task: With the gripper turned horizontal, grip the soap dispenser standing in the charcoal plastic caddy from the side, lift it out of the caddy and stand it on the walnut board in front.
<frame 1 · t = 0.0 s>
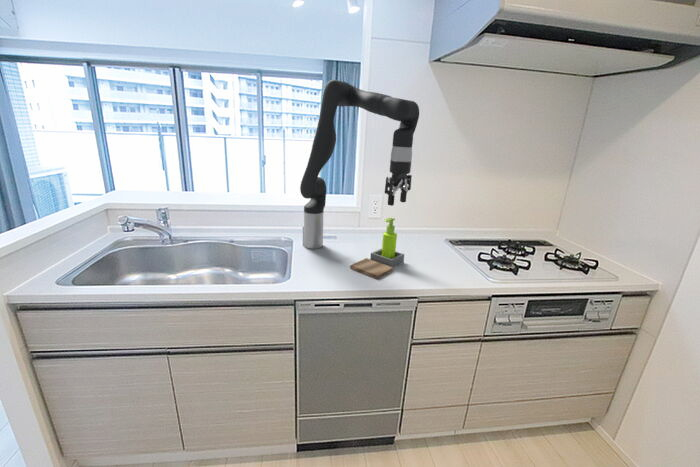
hand: (396, 203, 120), 29 cm above the worktop, tool pointing down, fingers open, 8 cm apart
soap dispenser: (386, 262, 141), resting in caddy
board: (371, 269, 132), on the worktop
caddy: (386, 262, 140), on the worktop
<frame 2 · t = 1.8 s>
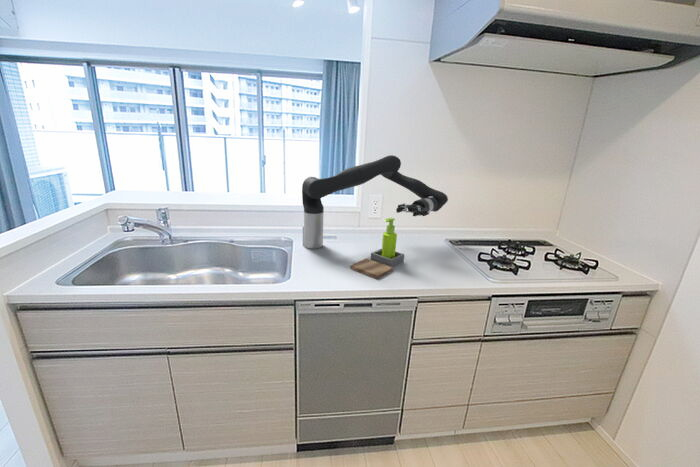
hand: (405, 212, 142), 21 cm above the worktop, tool horizontal, fingers open, 8 cm apart
nothing on the worktop moved.
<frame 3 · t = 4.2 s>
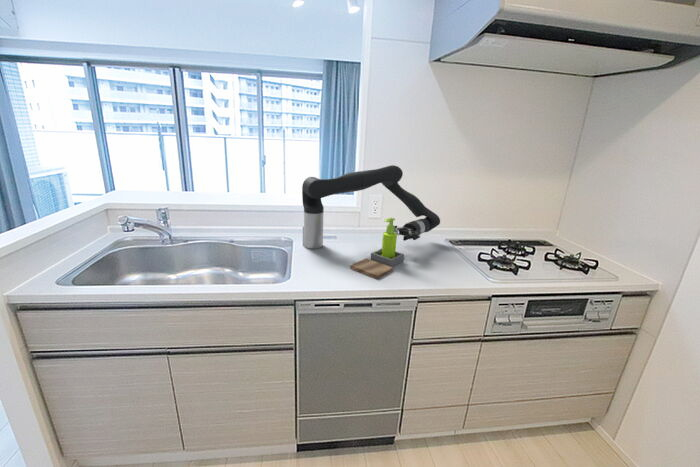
hand: (395, 235, 141), 11 cm above the worktop, tool horizontal, fingers open, 8 cm apart
nothing on the worktop moved.
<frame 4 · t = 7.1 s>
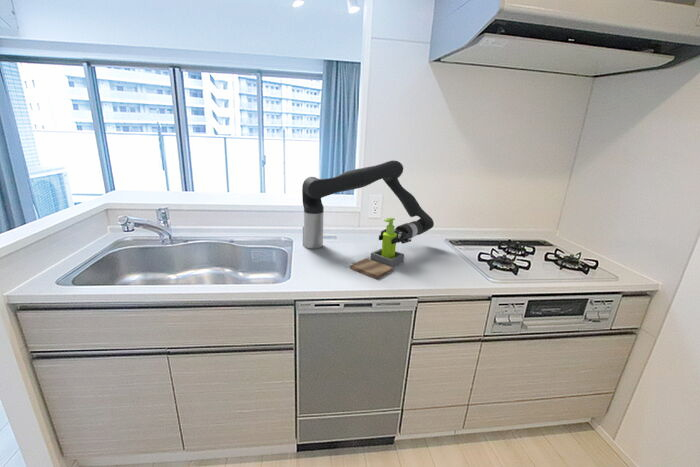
hand: (385, 239, 135), 11 cm above the worktop, tool horizontal, fingers closed on soap dispenser, 6 cm apart
soap dispenser: (386, 262, 141), resting in caddy, touching gripper
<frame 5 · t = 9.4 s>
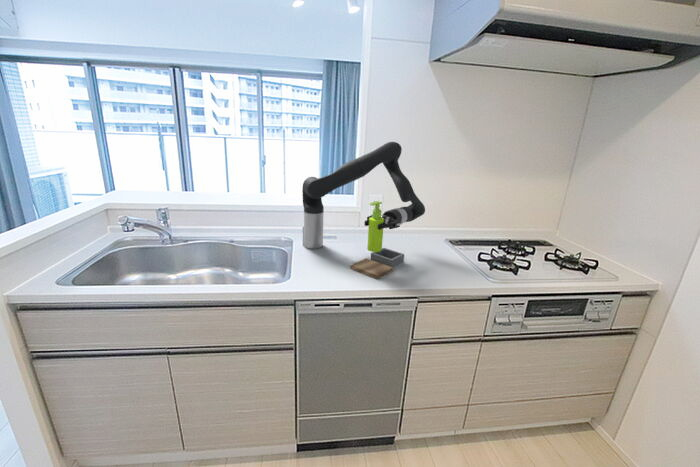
hand: (371, 225, 125), 20 cm above the worktop, tool horizontal, fingers closed on soap dispenser, 6 cm apart
soap dispenser: (373, 250, 130), point 8 cm above the worktop, touching gripper
when the fingers open (14 cm above the worktop, at t = 11.8 s): soap dispenser drops 1 cm, resting on board.
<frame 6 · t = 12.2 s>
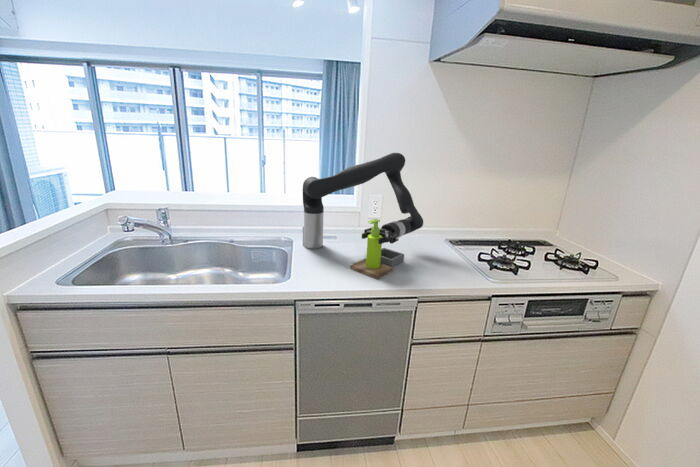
hand: (370, 239, 126), 14 cm above the worktop, tool horizontal, fingers open, 8 cm apart
soap dispenser: (372, 266, 132), point 1 cm above the worktop, touching board
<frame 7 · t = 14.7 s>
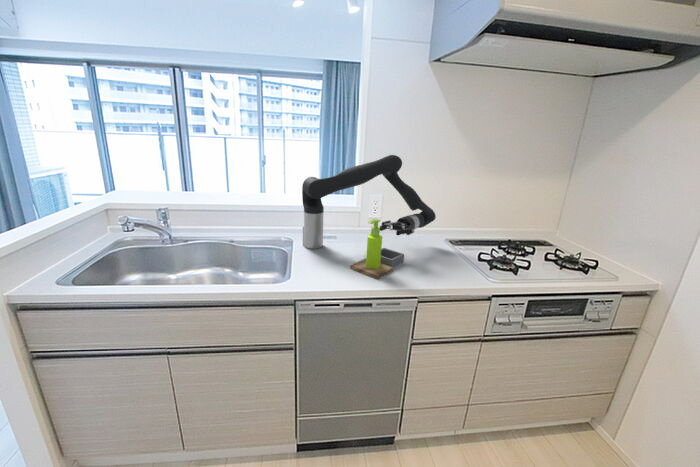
hand: (388, 230, 136), 15 cm above the worktop, tool horizontal, fingers open, 8 cm apart
nothing on the worktop moved.
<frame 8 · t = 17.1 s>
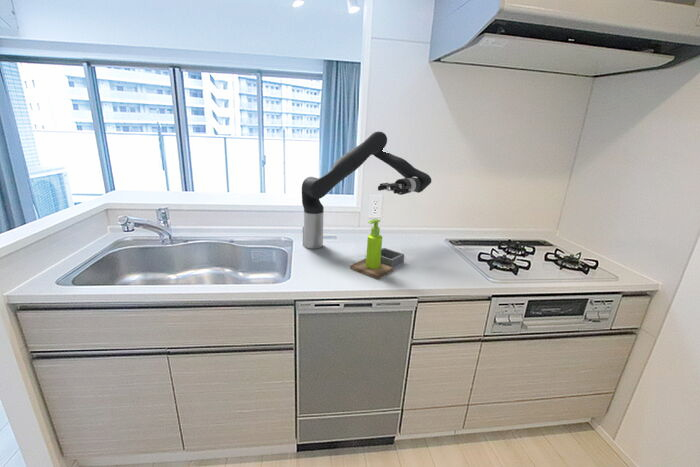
hand: (386, 189, 143), 30 cm above the worktop, tool horizontal, fingers open, 8 cm apart
nothing on the worktop moved.
at the end: soap dispenser inside the target area on the board (0.1 cm from its centre), point 1.3 cm above the board's base; soap dispenser tilted 0°; the gripper is holding nothing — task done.
